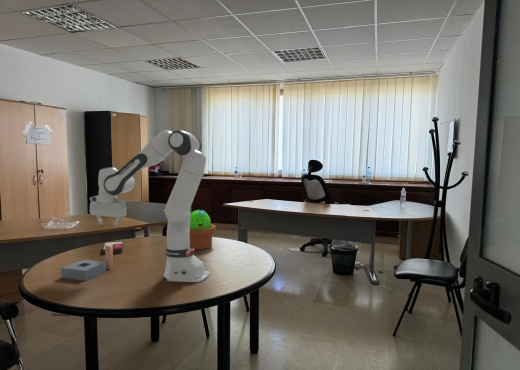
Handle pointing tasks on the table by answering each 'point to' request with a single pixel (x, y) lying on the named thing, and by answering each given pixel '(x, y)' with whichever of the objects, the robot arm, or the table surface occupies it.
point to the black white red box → (114, 247)
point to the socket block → (83, 270)
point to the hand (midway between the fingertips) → (108, 224)
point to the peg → (109, 256)
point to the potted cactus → (201, 230)
